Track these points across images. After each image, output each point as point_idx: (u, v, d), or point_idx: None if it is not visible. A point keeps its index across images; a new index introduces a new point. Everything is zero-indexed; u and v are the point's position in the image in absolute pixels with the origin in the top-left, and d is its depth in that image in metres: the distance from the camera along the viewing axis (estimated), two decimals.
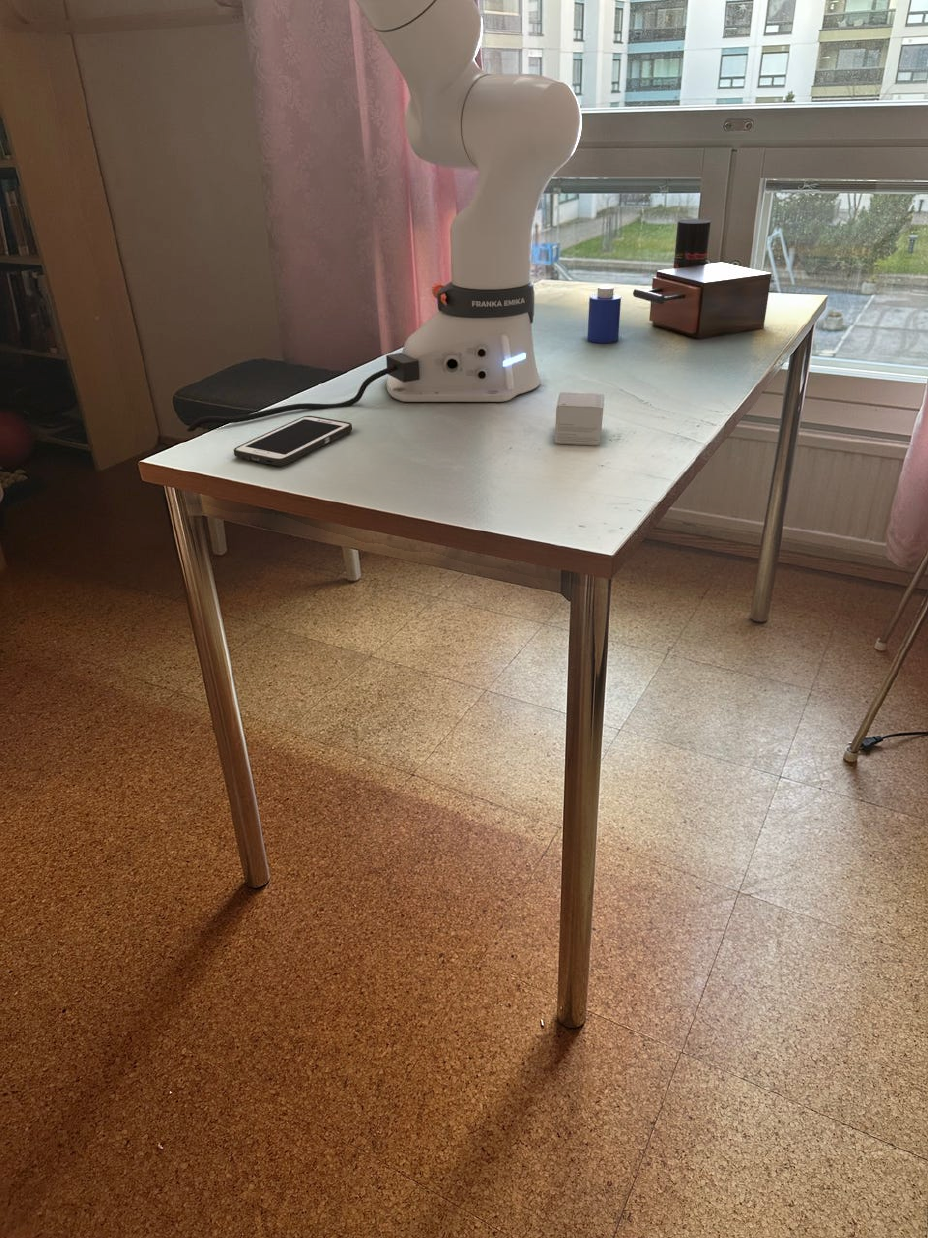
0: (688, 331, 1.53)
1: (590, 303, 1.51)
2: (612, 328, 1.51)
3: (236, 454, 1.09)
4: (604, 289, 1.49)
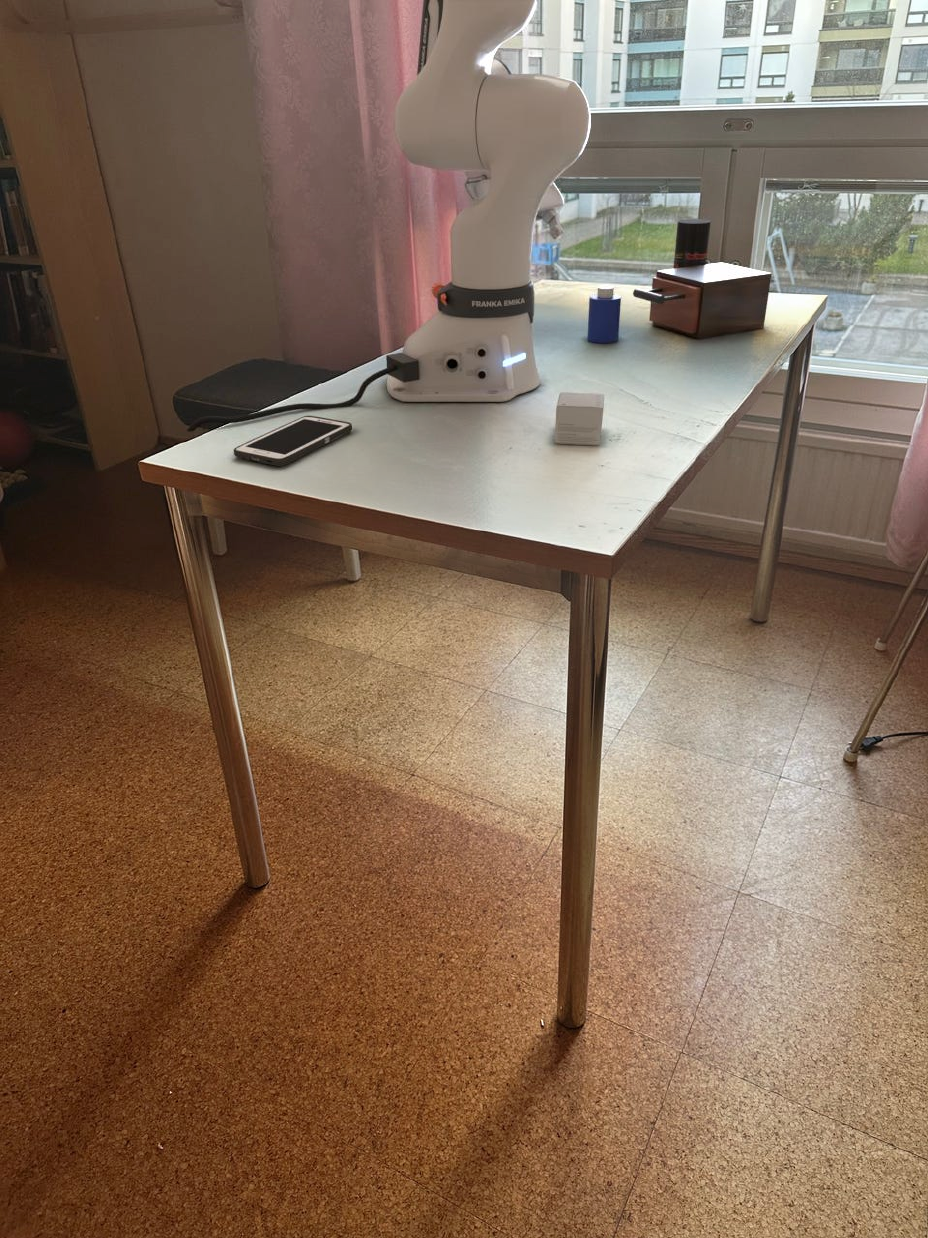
0: (688, 331, 1.53)
1: (590, 303, 1.51)
2: (612, 328, 1.51)
3: (236, 454, 1.09)
4: (604, 289, 1.49)
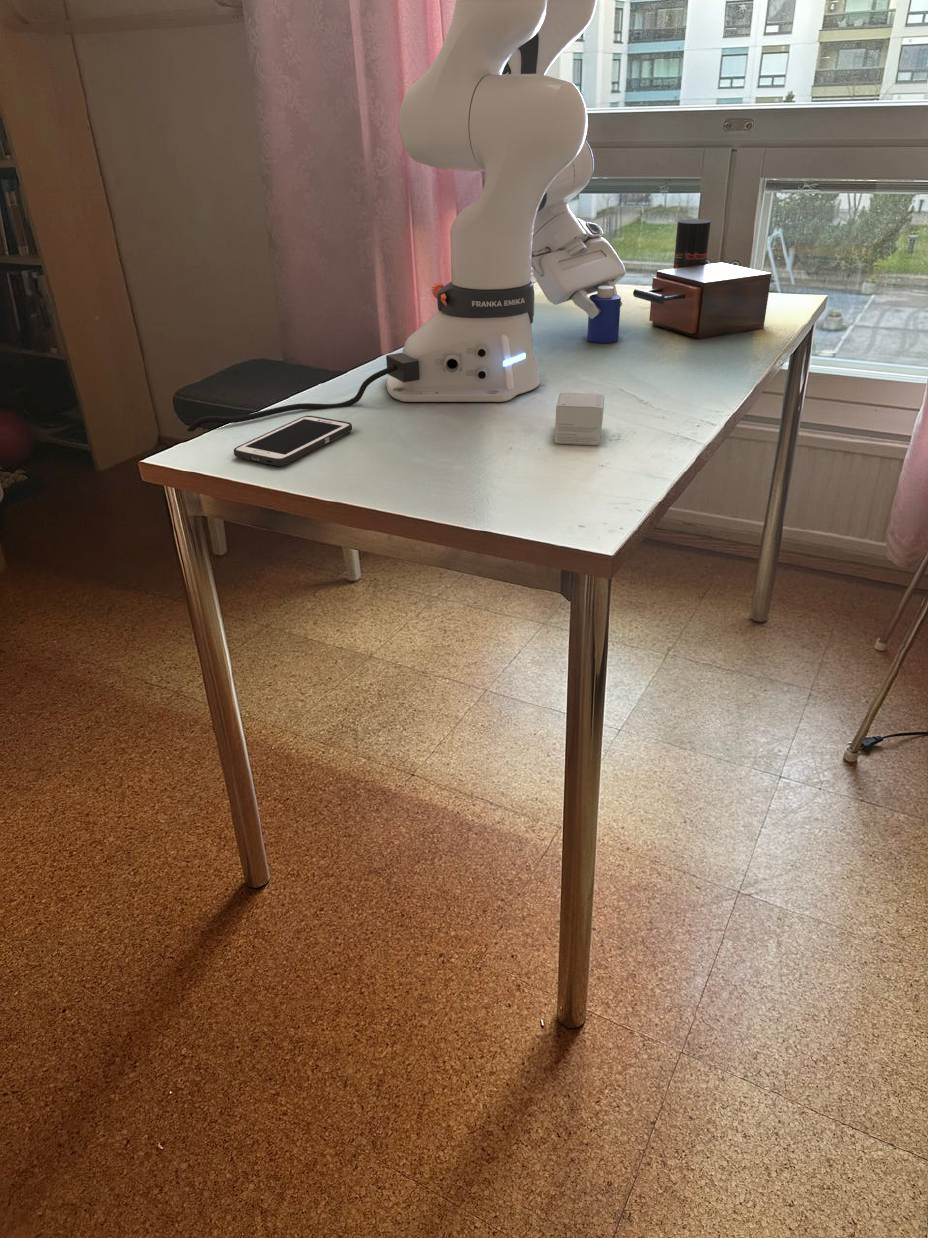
0: (688, 331, 1.53)
1: None
2: (612, 328, 1.51)
3: (236, 454, 1.09)
4: (604, 289, 1.49)
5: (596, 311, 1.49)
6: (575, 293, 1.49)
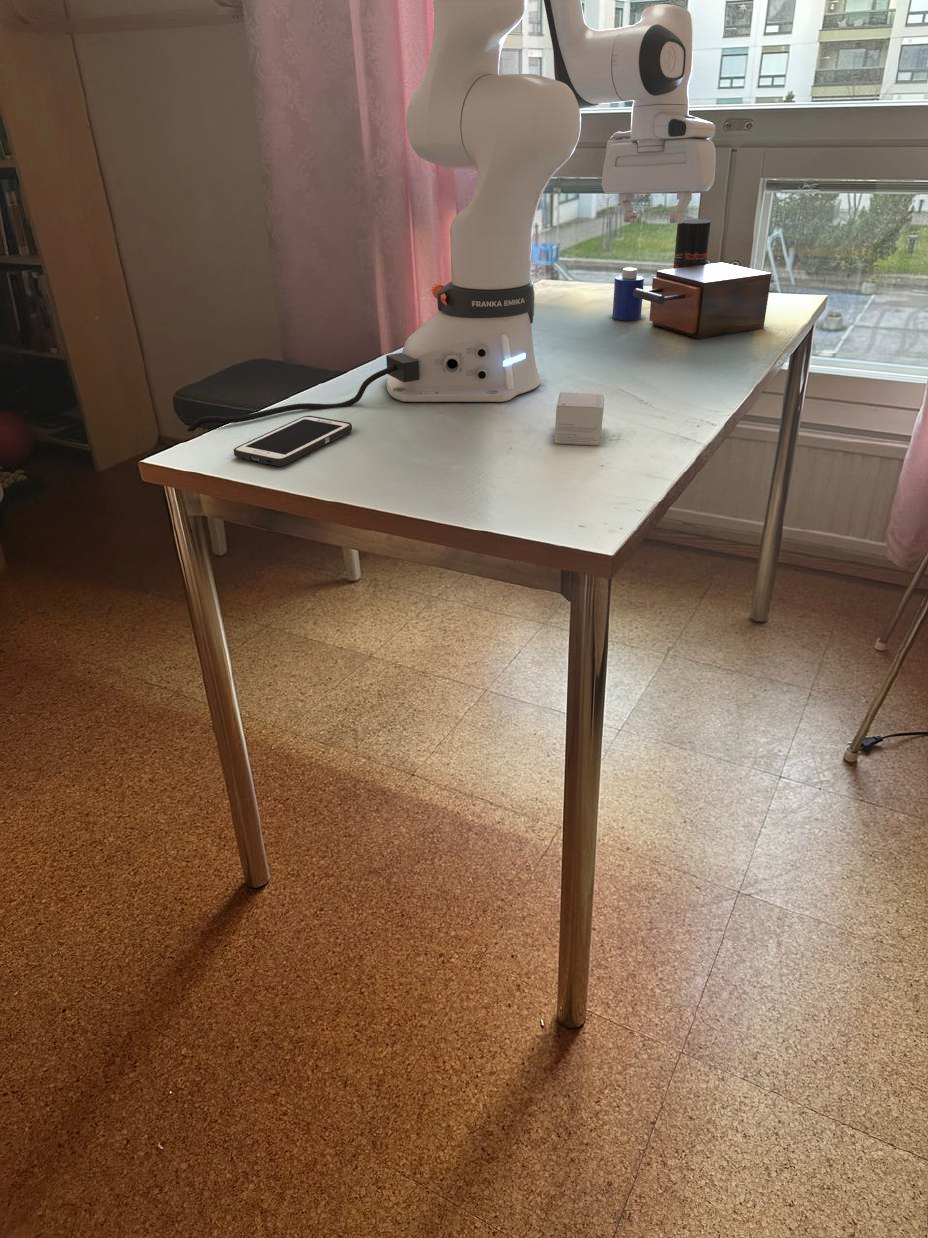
0: (688, 331, 1.53)
1: (615, 284, 1.64)
2: (636, 306, 1.65)
3: (236, 454, 1.09)
4: (628, 270, 1.63)
5: (623, 220, 1.53)
6: None
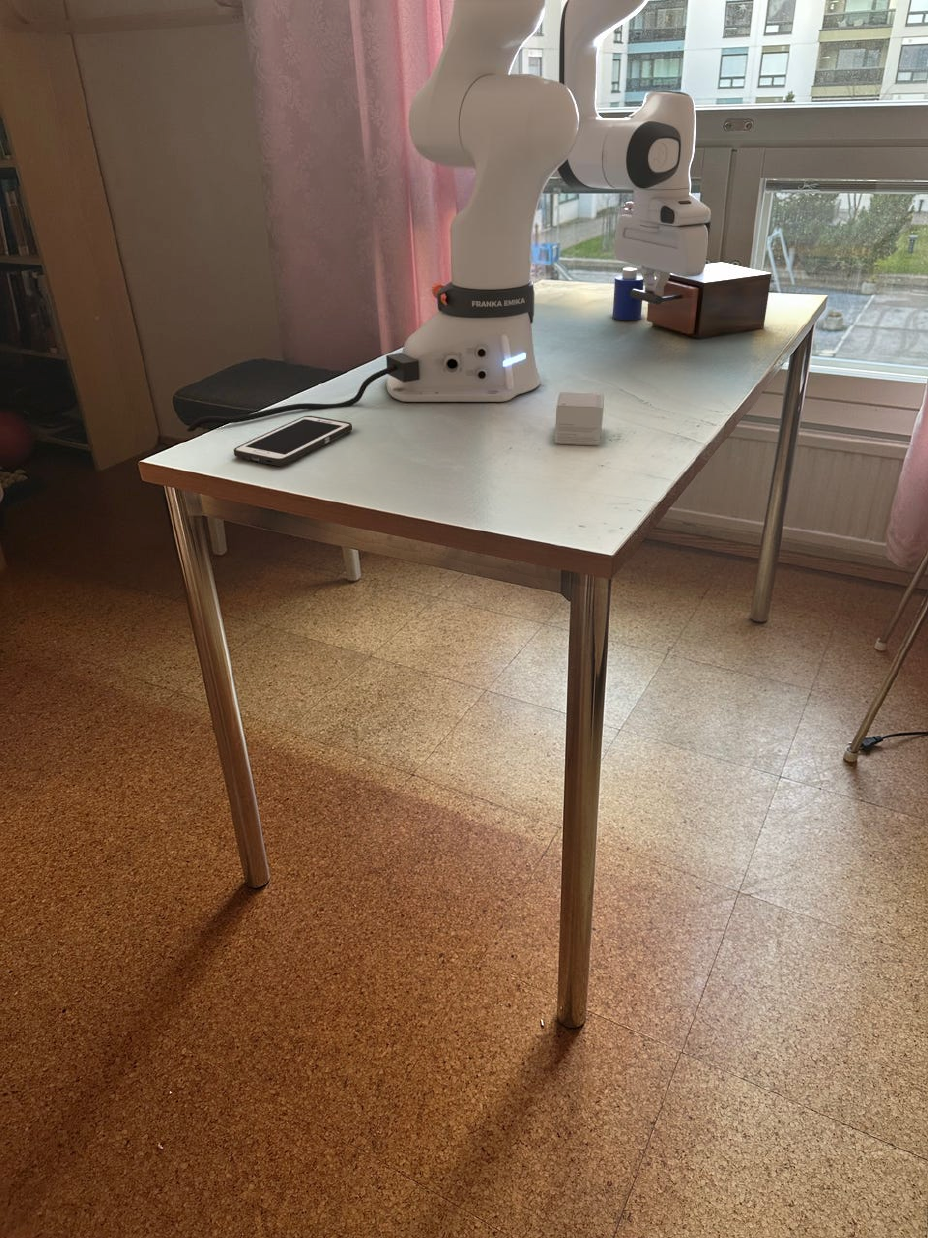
0: (685, 331, 1.53)
1: (615, 284, 1.64)
2: (636, 306, 1.65)
3: (236, 454, 1.09)
4: (628, 270, 1.63)
5: None
6: None
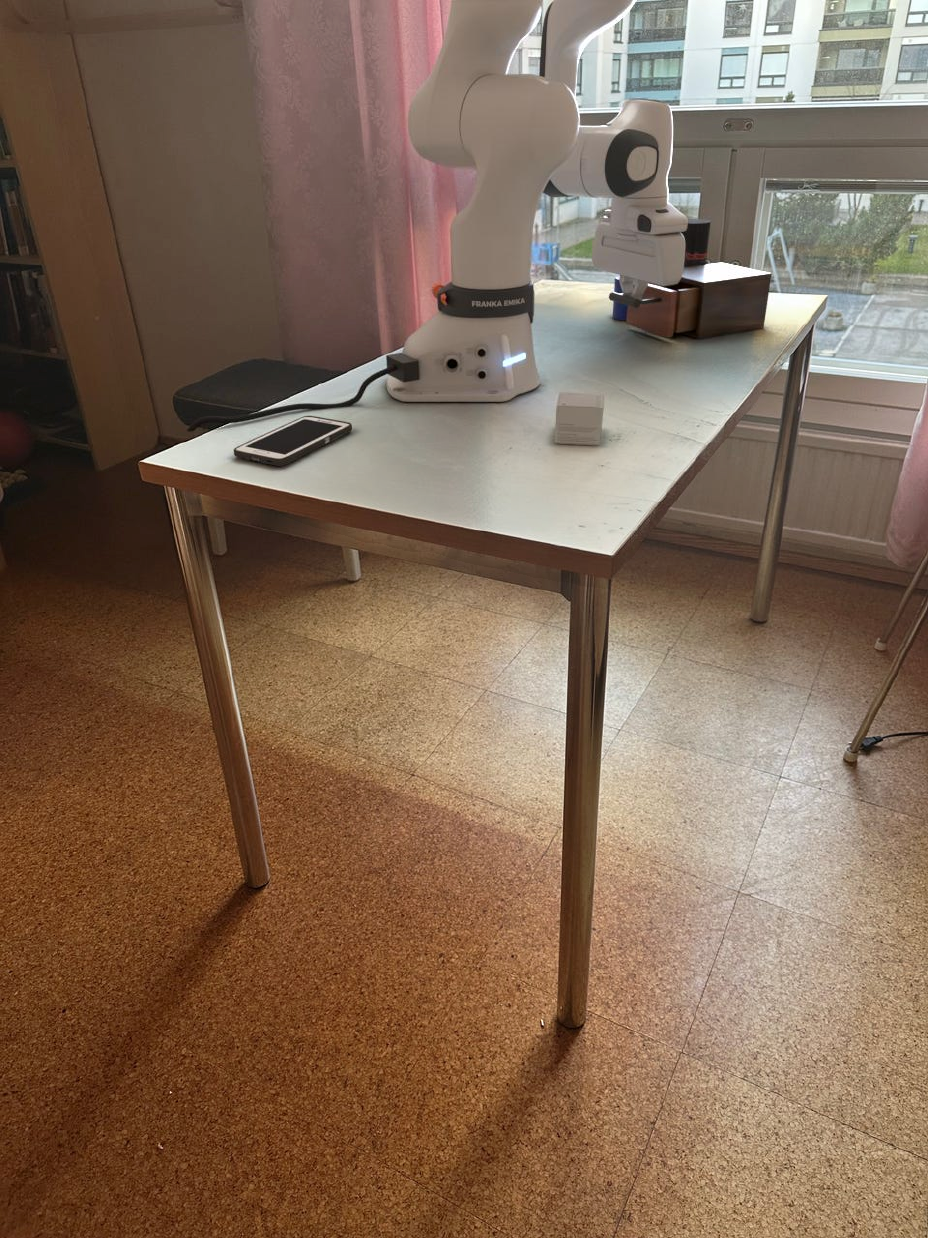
0: (664, 335, 1.52)
1: (615, 284, 1.64)
2: None
3: (236, 454, 1.09)
4: None
5: None
6: None
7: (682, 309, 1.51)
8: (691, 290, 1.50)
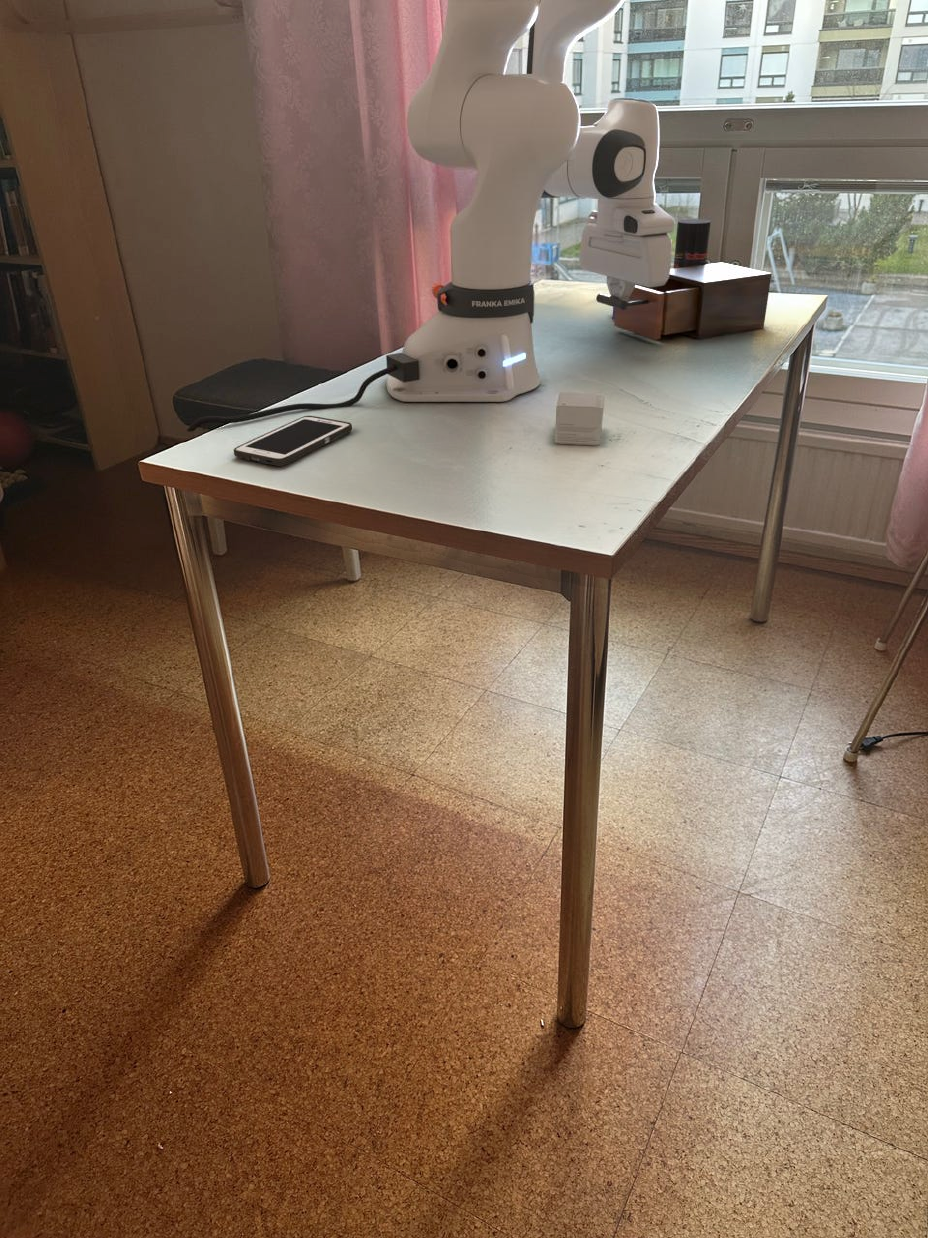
0: (652, 337, 1.51)
1: None
2: None
3: (236, 454, 1.09)
4: None
5: None
6: None
7: (670, 311, 1.50)
8: (679, 292, 1.49)
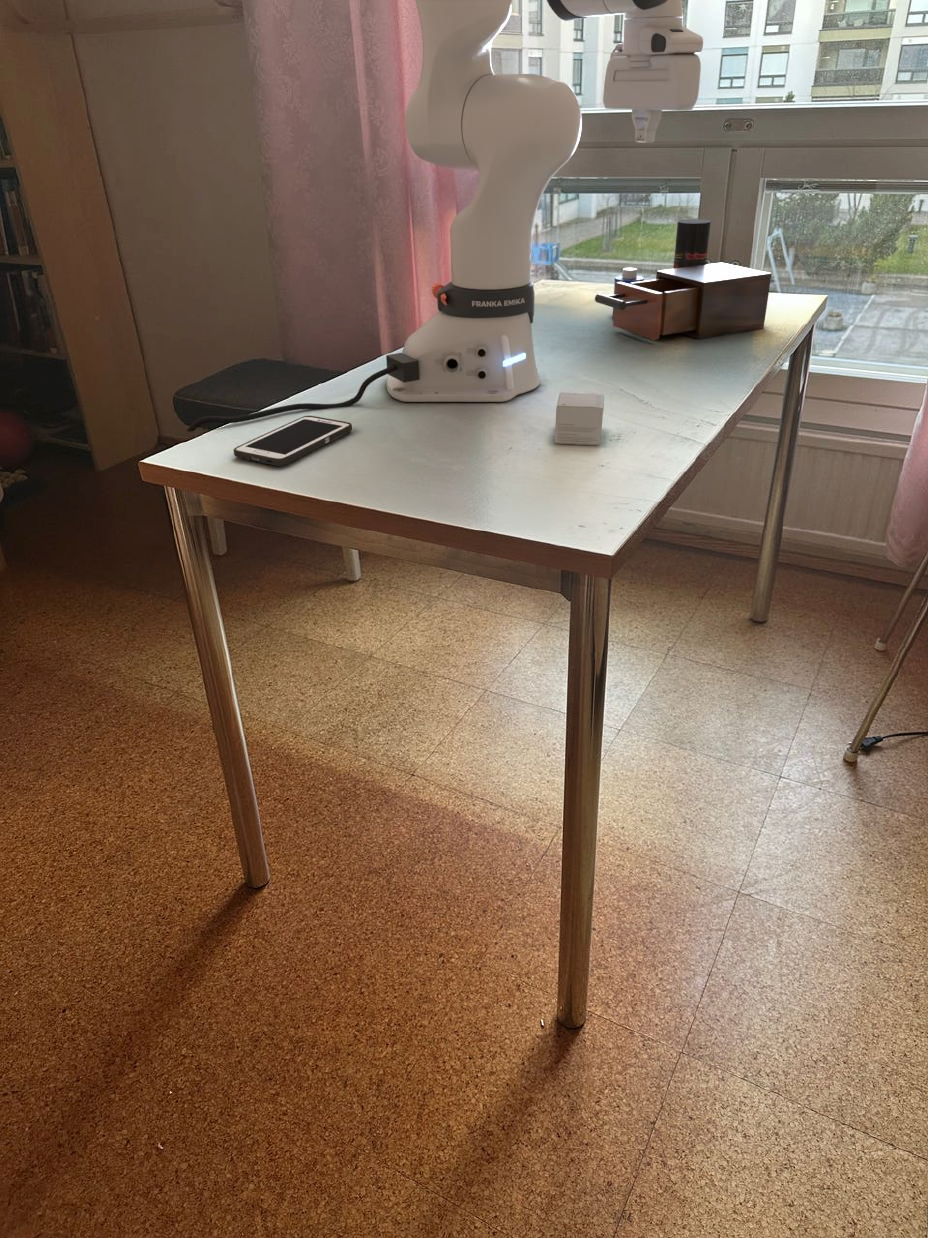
0: (650, 337, 1.50)
1: (615, 284, 1.64)
2: None
3: (236, 454, 1.09)
4: (628, 270, 1.63)
5: (635, 139, 1.48)
6: None
7: (669, 311, 1.50)
8: (677, 292, 1.49)
